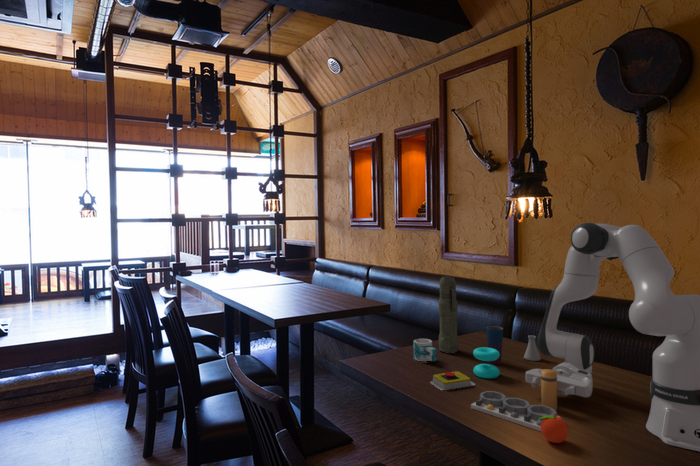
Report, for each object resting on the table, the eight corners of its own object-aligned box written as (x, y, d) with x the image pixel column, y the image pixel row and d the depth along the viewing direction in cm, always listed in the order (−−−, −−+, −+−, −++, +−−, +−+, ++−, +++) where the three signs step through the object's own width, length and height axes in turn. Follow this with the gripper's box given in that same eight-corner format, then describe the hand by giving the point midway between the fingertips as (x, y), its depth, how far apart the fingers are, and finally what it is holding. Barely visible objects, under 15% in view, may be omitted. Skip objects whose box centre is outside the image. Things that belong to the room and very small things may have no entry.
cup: (505, 361, 188) (504, 327, 187) (501, 366, 182) (500, 330, 182) (489, 359, 191) (488, 325, 191) (484, 363, 186) (484, 328, 185)
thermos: (449, 355, 198) (448, 278, 197) (433, 349, 208) (432, 276, 208) (464, 352, 201) (463, 277, 201) (448, 346, 212) (447, 274, 211)
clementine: (537, 445, 118) (537, 419, 118) (536, 433, 124) (535, 408, 124) (570, 450, 115) (569, 423, 115) (567, 437, 122) (566, 412, 121)
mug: (425, 355, 198) (425, 337, 198) (441, 363, 187) (441, 343, 187) (410, 358, 195) (410, 339, 195) (426, 366, 184) (425, 346, 184)
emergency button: (428, 372, 165) (462, 367, 170) (428, 383, 166) (462, 378, 171) (441, 380, 157) (476, 374, 162) (441, 392, 157) (476, 386, 162)
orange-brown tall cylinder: (559, 408, 141) (559, 371, 140) (553, 412, 137) (553, 375, 137) (545, 404, 144) (544, 368, 144) (538, 408, 141) (538, 371, 141)
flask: (542, 361, 187) (542, 338, 187) (525, 361, 188) (524, 338, 188) (539, 356, 194) (538, 334, 194) (521, 356, 195) (521, 333, 195)
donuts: (503, 353, 167) (476, 353, 167) (503, 379, 167) (477, 379, 167) (495, 346, 177) (470, 346, 177) (495, 370, 177) (470, 370, 177)
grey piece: (560, 420, 132) (560, 410, 132) (545, 433, 124) (545, 422, 124) (487, 398, 149) (487, 389, 149) (470, 408, 142) (470, 398, 142)
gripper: (534, 361, 157) (517, 371, 148) (597, 375, 142) (581, 386, 133) (535, 379, 157) (517, 389, 148) (597, 394, 142) (581, 407, 133)
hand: (548, 388), depth 140 cm, fingers open, 8 cm apart
